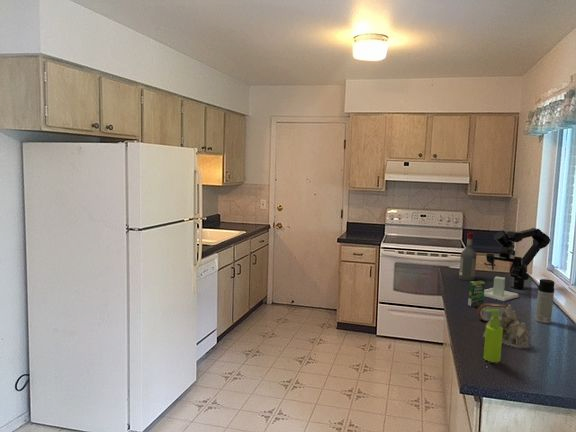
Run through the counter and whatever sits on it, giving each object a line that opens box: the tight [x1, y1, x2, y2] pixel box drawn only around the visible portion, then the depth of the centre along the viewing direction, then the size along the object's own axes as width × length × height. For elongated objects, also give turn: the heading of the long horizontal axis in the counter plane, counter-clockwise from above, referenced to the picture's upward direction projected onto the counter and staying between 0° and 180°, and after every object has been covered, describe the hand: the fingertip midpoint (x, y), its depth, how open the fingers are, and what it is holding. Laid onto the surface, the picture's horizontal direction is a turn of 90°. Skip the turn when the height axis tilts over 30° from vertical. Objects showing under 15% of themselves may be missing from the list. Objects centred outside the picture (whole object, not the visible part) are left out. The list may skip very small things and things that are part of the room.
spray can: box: [534, 278, 555, 324], centre depth 231 cm, size 7×7×20 cm
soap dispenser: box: [483, 309, 503, 362], centre depth 182 cm, size 6×7×20 cm
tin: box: [476, 302, 508, 322], centre depth 229 cm, size 15×3×8 cm, turn 84°
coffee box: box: [467, 280, 486, 308], centre depth 253 cm, size 8×3×13 cm, turn 107°
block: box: [492, 276, 506, 297], centre depth 273 cm, size 5×5×10 cm
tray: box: [484, 287, 519, 302], centre depth 274 cm, size 15×15×2 cm
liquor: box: [458, 232, 477, 282], centre depth 310 cm, size 9×9×30 cm
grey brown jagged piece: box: [482, 304, 531, 348], centre depth 203 cm, size 16×16×15 cm
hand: (501, 271), depth 275 cm, fingers open, 9 cm apart
